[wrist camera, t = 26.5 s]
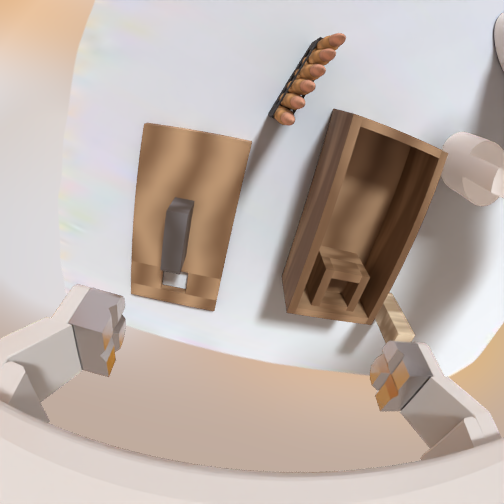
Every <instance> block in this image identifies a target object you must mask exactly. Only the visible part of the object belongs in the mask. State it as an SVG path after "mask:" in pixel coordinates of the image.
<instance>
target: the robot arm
mask: <svg viewBox="0 0 504 504" xmlns="http://www.w3.org/2000/svg"><path fill="white" fill-rule="evenodd" d="M494 39H495V47H496V52H497V56H498V59H499V62H500V65H501V67H502V69H503V71H504V13H502V14H501V15H500V16H499V17H498V19H497V21H496V24H495V31H494ZM124 309H125V298H124V297H123V296H121V295H117V294H113V293H109V292H106V291H102V290H99V289H95V288H90V287H87V286H84V285H80V284H76V285H74V286H73V287H72V289H71V290H70V292H69V293H68V294H67V296H66V297H65V299H64V300H63V301H62V303H61V304H60V306H59V307H58V308H57V310H56V311H55V313H54V314H53V316H52V317H51V318H49V317H45V318H43V319H41V320H39V321H36V322H34V323H32V324H30V325H28V326H26V327H24V328H21V329H19V330H17V331H15V332H13V333H11V334H9V335H6V336H4V337H2V338H0V504H504V438H501V436H500V433H499V431H498V429H497V427H496V425H495V422H494V420H493V418H492V416H491V414H490V412H489V411H488V410H487V409H485V408H484V407H483V406H482V405H480V403H478V402H477V401H476V400H475V399H474V398H472V397H471V396H470V395H469V394H468V393H467V392H465V391H464V390H463V389H462V388H460V386H458V385H457V384H456V383H454V382H453V381H452V380H451V379H450V378H449V377H445V376H444V374H443V372H442V370H441V368H440V366H439V364H438V362H437V360H436V358H435V357H434V355H433V353H432V351H431V349H430V347H429V345H427V344H426V343H420V342H401V341H389V342H387V343H386V344H385V345H384V347H383V348H382V352H383V354H382V355H380V356H379V357H377V358H376V359H375V361H374V362H373V364H372V365H371V370H370V380H371V384H372V386H373V387H375V388H376V389H377V393H376V395H375V396H376V399H377V403H378V406H379V409H380V411H401V412H400V413H401V414H402V415H403V416H404V418H405V419H406V420H407V421H408V422H409V424H410V425H411V426H412V427H413V428H414V430H415V431H416V432H417V433H418V434H419V436H420V437H421V438H422V439H423V440H424V442H425V443H426V444H427V445H428V447H429V448H430V449H429V450H428V451H427V452H426V453H424V454H423V455H422V457H421V461H416V462H410V463H405V464H398V465H392V466H385V467H377V468H368V469H358V470H346V471H329V472H268V471H251V470H238V469H229V468H220V467H212V466H204V465H198V464H192V463H185V462H180V461H174V460H169V459H164V458H159V457H155V456H151V455H146V454H142V453H138V452H134V451H130V450H126V449H123V448H119V447H116V446H112V445H109V444H105V443H102V442H99V441H96V440H93V439H90V438H87V437H83V436H81V435H78V434H75V433H73V432H70V431H67V430H64V429H62V428H59V427H57V426H54V425H52V424H50V423H49V418H48V416H47V414H46V412H45V411H44V408H43V407H42V405H41V403H40V402H42V401H43V400H44V399H46V398H47V397H48V396H50V395H51V394H52V393H54V392H55V391H56V390H58V389H59V388H60V387H61V386H63V385H64V384H66V383H67V382H68V381H70V380H71V379H72V378H74V377H75V376H77V375H78V374H79V373H80V372H82V370H85V371H88V372H92V373H95V374H99V375H103V376H107V377H109V375H110V373H111V370H112V368H113V365H114V363H115V360H116V359H115V352H116V351H117V350H119V349H120V348H121V345H122V343H123V339H124V335H125V327H126V319H125V318H124V316H123V315H122V313H123V311H124Z"/></svg>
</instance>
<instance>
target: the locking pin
mask: <svg viewBox="0 0 504 504" xmlns="http://www.w3.org/2000/svg"><path fill="white" fill-rule="evenodd" d="M375 319H376V322H377V324H378V326H379V328H380V331H381V333H382V335H383V338H384V340H385V342H386V343H387V342H389V341H401V342H411V341H412V340H413V338H414V337H415V334H414V332H413V330H412V329H411V327H410V325H409V323H408V321H407V319H406V317H405V316H404V314H403V312H402V310H401V308H400V307H399V305H398V303H397V301H396V300H395V298H394V296H393V294H392V293H388V295H387V297H386V299H385V301H384V303H383V305H382V307H381V308H380V310H379V312H378V314H377V316H376V317H375Z"/></svg>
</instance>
